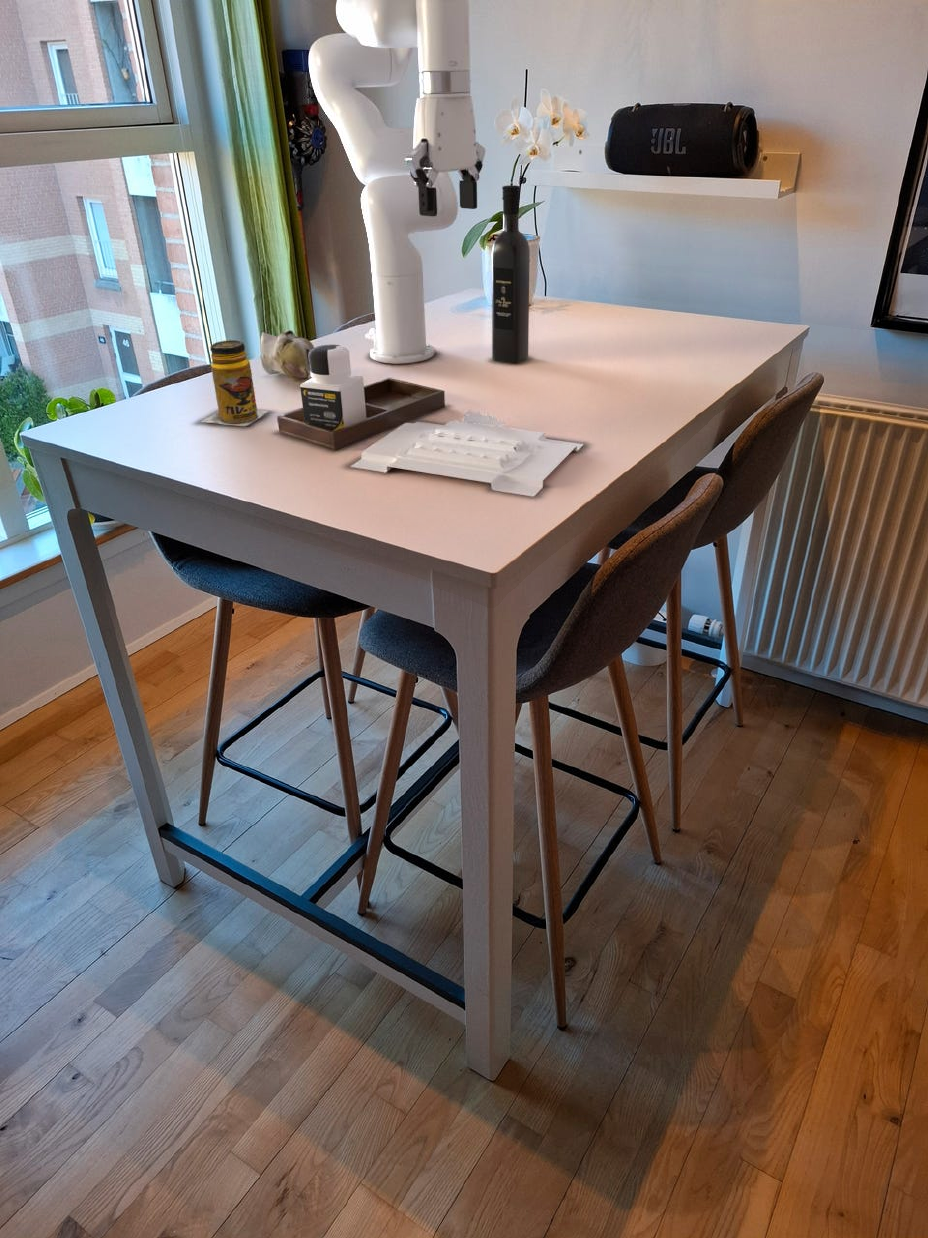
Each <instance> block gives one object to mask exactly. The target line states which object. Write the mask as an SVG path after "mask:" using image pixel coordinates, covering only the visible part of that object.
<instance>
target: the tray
mask: <svg viewBox="0 0 928 1238" xmlns="http://www.w3.org/2000/svg"><path fill="white" fill-rule="evenodd" d="M462 416H463V417H462V419H463V420H462V419H460V421H459V420H454V419H453V420H450V421H448V422H446V423H445V424H439V423H432V422H431V423H430V422H425V421H415V422H414V423H413V422H412V423H411V422H405V423H403V424H400V425H399V426H398V427H397V428H395V429H394V430H392V431H391V432H389V433H388V434H387V435H384V436H383V437H382V438H380V439H379V440H377V441H376V442H374V443H372V445H369V447H367V448H366V449H363V451H362V452H361V458H360V459H359V460H357V461H356V462H355V463H353V464H352V465H349V466H350V468H355V469H361V470H367V471H374V472H380V473H387V472H388V471H390V470H392V469H393V468H394V469H395V468H396V469H402V470H407V471H412V472H413V471H414V472H421V473H424V474H425V473H427V474H433V475H440V476H445V477H450V478H457V479H463V480H468V481H469V480H470V481H477V482H482V483H489V484H490V486H491V487H490V488H491V490H492V491H496V492H501V493H508V494H515V495H521V496H527V497H535V496H536V495H537V494H538V493H539V492H540V491H541V490H542V489H543V487H544V480H545V479H547V477H548V476H550V474H551V473H552V472H553V471H554V470H555V469H556V468H557V467H558V466H559V465H560V464H561V463H562V462H563V461H564V460H565V459H566V458H567V456H569V454H571V452H578V451H579V450H580V449H581V448H582V447H583V446H584V444H583V443H578V442H571V441H562V440H557V439H556V440H555V439H548V438H547V433H546V432H542V431H536V430H535V431H533V430H528V429H527V430H526V429H519V428H514V427H513V428H512V427H505V426H506V424H505V421H504V420H498V418H496V417H495V416H494V415H490V414H486V413H481V411H475V412H474V411H472V410H468V411H467V412H466V414H465V415H462Z"/></svg>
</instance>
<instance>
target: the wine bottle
mask: <svg viewBox="0 0 928 1238" xmlns="http://www.w3.org/2000/svg"><path fill="white" fill-rule="evenodd" d="M501 189H502V198H501V199H502V231H501V232H500V233H499V234H498V236H497V237H496V238H495V240H494V241H493V244H492V248H491V342H492V344H491V353H492V354H491V357H492V358H491V359H492V360H493V361H494V362H498V363H505V364H518V363H520V362H522V361H524V360H526V359H528V357H529V334H530V333H529V332H530V331H529V330H530V329H529V325H530V263H531V262H530V261H531V259H530V258H531V249H530V245H529V241H528V239H527V237H526V236H525V235H524V234H523V233H522V232H521V231H520V229H519V225H520V224H519V221H520V220H519V217H520V216H519V215H520V214H519V213H520V212H519V211H520V210H519V208H520V207H519V205H520V204H519V203H520V189H521V187H520V186H519V185H511V184H509V185H504V186H502V187H501Z"/></svg>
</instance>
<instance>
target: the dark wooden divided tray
mask: <svg viewBox="0 0 928 1238" xmlns="http://www.w3.org/2000/svg"><path fill="white" fill-rule="evenodd" d="M364 396H365V407H366V419H365V420H362V421H359V422H357V423H354V424H351V425H349V426H346V427H343V428H341V429H338V430H336V431H331V430H327V429H324V428H321V427H317V426H314V425H311V424H307V423H305V422H304V414H303V407H301V408H300V407H299V408H297V409H294V410H291V411H288V412H285V413H283V414H279V415H277V416H276V420H277V426H278V433H279V434H281V435H284V436H288V437H291V438H294V439H297V440H300V441H303V442H307V443H310V444H312V445H313V444H314V445H316V446H319V447H322V448H325V449H329V450H332V451H337V450H340V449H342V448H345V447H348V446H351V445H352V444H355V443H358V442H360V441H363V440H365V439H367V438H371V437H373V436H375V435H377V434H380V433H383V432H385V431H388V430H390V429H392V428H395V427H397V426H398V427H399V426H401V425H403V424H405V423H409V421H412V420H415V419H417V418H420V417H423V416H425V415H427V414H430V413H433V412H435V411H437V410H440V409H442V408H445V407H446V396H445V390H442V389H438V388H435V387H430V386H426V385H422V384H417V383H414V382H409V381H405V380H401V379H396V378H392V377H387V378H383V379H381V380H378V381H375V382H373V383H370V384H366V385H364Z"/></svg>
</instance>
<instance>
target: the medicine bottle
mask: <svg viewBox="0 0 928 1238" xmlns="http://www.w3.org/2000/svg"><path fill="white" fill-rule="evenodd" d="M350 357H351V356H350V350H349V349H348V348H347V347H346V346H342V345H340V344H323V345H318V346H316V347H315V346H314V349H312V350H310V352H309V363H310V371H311V375H310V377H311V378H309V379H308V380H306V381H303V382H301V384H300V385H299V387H300V388H299V389H300V397H301V405H302V408H303V414H304V422H305V423H307V424H311V425H314V426H317V427H321V428H324V429H327V430H331V431H336V430H338V429H341V428H343V427H346V426H349V425H351V424H354V423H357V422H359V421H362V420H365V419H366V407H365V396H364V386H365V385H364V384H365V383H364V377H363V376H362V375H356V374H352V370H351V360H350Z"/></svg>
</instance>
